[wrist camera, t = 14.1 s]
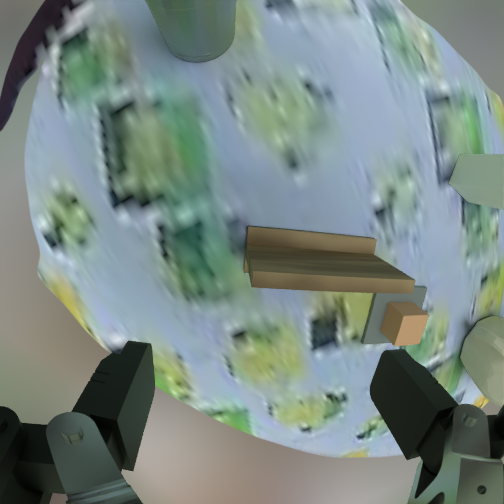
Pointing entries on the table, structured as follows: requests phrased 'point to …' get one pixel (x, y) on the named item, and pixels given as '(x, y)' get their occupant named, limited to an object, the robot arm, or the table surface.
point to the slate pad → (379, 308)
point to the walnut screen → (319, 262)
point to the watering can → (486, 358)
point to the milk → (480, 179)
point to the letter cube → (404, 323)
